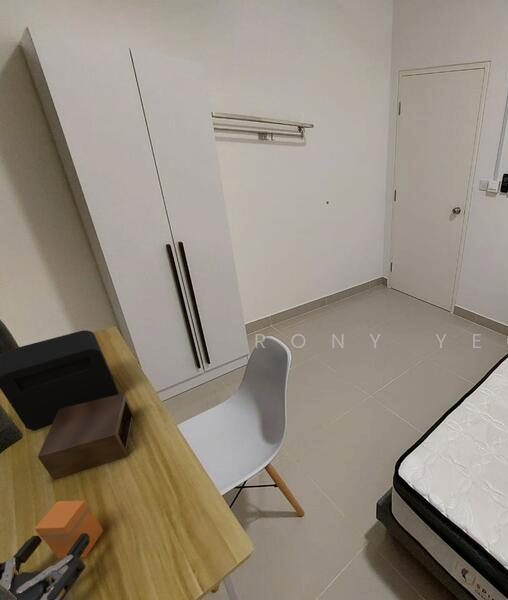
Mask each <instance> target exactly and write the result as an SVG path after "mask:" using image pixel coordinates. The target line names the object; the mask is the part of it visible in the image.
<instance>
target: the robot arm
mask: <svg viewBox="0 0 508 600" xmlns="http://www.w3.org/2000/svg"><path fill="white" fill-rule="evenodd" d="M89 539H90V537H89V535H88V534H87V533H82V534H81V535H80V536H79V538H78V539H77V541H76V542H75V543H74V545H73V546H72V548H71V549H70V550H69V552H68V553H67V555H68V556H67V557H65V558H61V560H60V561H58V562H57V563H56V564H53V565H50V566H48V567H47V568H45V569H44V570H43V571H41V570H40V571H39V570H38V571H37V570H35V571H32V572H28V571H22V567H23V566H22V564H25V563H26V562H27V561H28V560H29V558H30V557H32V555H33V554H34V552H35V551H36V550H37V548H38V547H39V546H40V545H41V543H42V541H43V539H42V537H41V536H40V535H32V536H31V537H30V538H29V539H27V540H26V541H25V542H24V543H23V544H22V546H21V547H20V548H19V549H18V550H17V552H16V553H15V554H14V555H13V556H12V557H10V558H8V560H6V561H4V562H0V581H1V582H0V586H1V585H2V586H4V587H5V588H6V589H7V590H8V591H10V592H11V593H12V594H13V595H14V596H15V597H16V598H17V600H64V599H65V597H66V596H67V595H68V593H69V592H70V590H71V589H72V587H73V586H74V585H75V583H76V582H77V581H78V579H79V577H81V575H82V573H83V572H84V570H85V569H86V564H85V563H84V562H83V561H82V559H81V557H80V556H81V555H82V553H83V552H84V550H85V549H86V547H87V546H88V544H89V543H90V540H89ZM50 576H51V578H50V579H48V577H50ZM47 591H48V592H47Z"/></svg>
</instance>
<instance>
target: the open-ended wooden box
mask: <svg viewBox="0 0 508 600" xmlns="http://www.w3.org/2000/svg"><path fill="white" fill-rule="evenodd" d="M133 419H135V413H134V411H133V408H132V406H131V404H130V402H129V399H128V397H127V394H126V393H125V392H122V393H119V394H118V395H114V396H110V397H106V398H102V399H98V400H94V401H89V402H85V403H81V404H77V405H73V406H69V407H65V408H61V409H59V410H58V412H57V414H56V417H55V419H54V421H53V423H52V424H51V425H50V428H49V430H48V432H47V435H46V437H45V438H44V442H43V443H42V446H41V447H40V450H39V453H38V455H37V458H38V459H39V461H40V462H41V464H42V466H43V467H44V468H45V470H46V471H47V473H48V474H49V476H50V477H51V479H52V480H53V481H56V480H59V479H62V478H65V477H68V476H72V475H75V474H78V473H82V472H85V471H88V470H91V469H94V468H97V467H100V466H103V465H107V464H110V463H113V462H116V461H119V460H122V459H126V458H127V456H128V451H127V450H128V446H129V441H130V435H131V432H132V431H131V429H132V425H133V421H134V420H133ZM122 422H125V424H124V430H123V434H122V439H121V437H120V435H119V432H120V427H121V423H122Z"/></svg>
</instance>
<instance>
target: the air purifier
mask: <svg viewBox="0 0 508 600" xmlns="http://www.w3.org/2000/svg"><path fill="white" fill-rule="evenodd" d="M0 391H1V392H2V394H3V396H4V397H5V398H6V400H7V402H8V403H9V404H10V406H11V407H12V409H13V411H14V412H15V413H16V415H17V416H18V418H19V419H20V421H21V422H22V424H23V425H24V427H25V428H26V429H27V430H28V431H29V430H30V431H38V430H41V429H43V428H46V427H49V426H52V423H53V421H54V419H55V417H56V414H57V412H58V410H59V409H61V408H65V407H69V406H73V405H77V404H81V403H85V402H89V401H94V400H98V399H102V398H106V397H110V396H114V395H118V394H120V393H119V390H118V387H117V385H116V382H115V379H114V375H113V374H112V371H111V368H110V367H109V364H108V363H107V359H106V357H105V355H104V353H103V351H102V348H101V346H100V343H99V342H98V339H97V337H96V334H95V333H94V332H92V331H91V330H87V329H85V330H83V329H82V330H79V331H75V332H71V333H68V334H64V335H60V336H56V337H53V338H48V339H44V340H41V341H37V342H34V343H29V344H25V345H22V346H19V347H14V348H10V349H7V350H5V351H3V352H1V353H0Z"/></svg>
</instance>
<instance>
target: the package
mask: <svg viewBox="0 0 508 600" xmlns="http://www.w3.org/2000/svg"><path fill="white" fill-rule="evenodd" d="M34 530H35V531H36V533H37V534H38V536H39V537H40V538H41V539H42V541H43V542H44V543H45V544H46V545H47V546H48V547H49V549H50V550H51V551H52V552H53V554H54V555H55V556H56V557H57V558H58V559H64V558H65V557H67V556H68V555H67V553H68V552H69V550H70V549H71V548H72V546H73V545H74V543H75V542H76V541H77V539H78V538H79V536H80V535H81V534H82V533H87V534H88V535H89V537H90V539H89V540H90V543H89V544H88V546H87V547H86V549H85V550H84V552H83V553H82V555H81V556H80V558H87V556H88V554H89V553H90V551H91V550H92V548H93V547H94V545H95V544H96V542H97V540H98V539H99V538H100V536H101V535H102V533H103V532H104V529H103V527H102V525H101V523H100V522H99V521H98V519H97V518H96V516H95V514H94V513H93V511H92V510H91V508H90V507H89V505H88V503H87V502H86V500H61V501H60V500H59V501H56V502H55V504H53V506H52V507H51V508H50V510H48V512H47V513H46V514H45V515H44V517H43V518H42V519H41V520H40V521H39V523H38V524H37V525H36V526H35V527H34Z"/></svg>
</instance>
